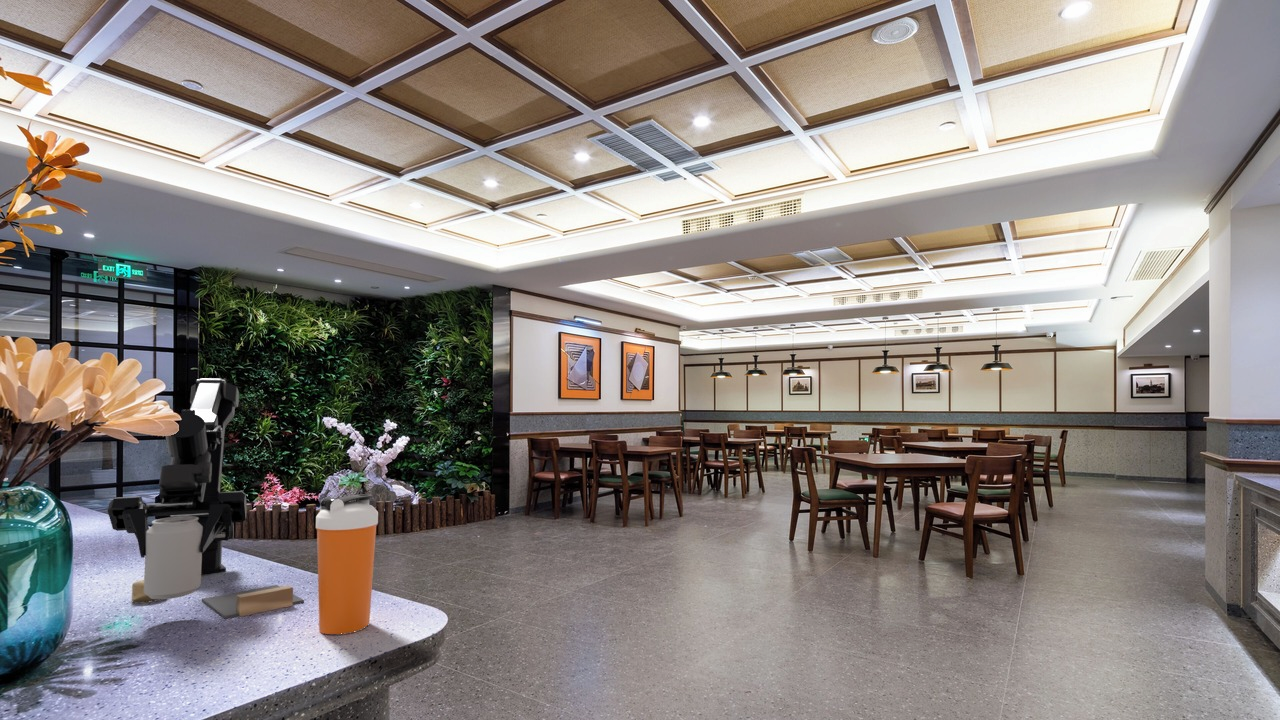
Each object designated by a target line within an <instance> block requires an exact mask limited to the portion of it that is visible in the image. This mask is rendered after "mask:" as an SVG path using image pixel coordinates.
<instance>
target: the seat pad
mask: <svg viewBox="0 0 1280 720" xmlns="http://www.w3.org/2000/svg"><path fill="white" fill-rule="evenodd" d="M278 587H280V586H279V585H277V584H275V585H274V584H273V585H269V586H263V587H258V588H251V589H247V590H246V589H245V590H241V591H237V592H236V591H235V592H232V593H225V594H220V595H215V596H209V597H202V598H201V602H202V603H204V605H206V606H208V607H209V608H210V609H211V610H213V611H214V612H216V613H217V614H218V615H219V616H221V617H222V618H223V619H225V620H226V619H231V618H235V617H240V616H239V613H238V612H236V602H237V595H241V594H246V593H251V592H256V591H262V590H267V589H272V588H278ZM300 602H303V603H304V602H305V600H304V599H303V598H301V597H299V596H297V595H296V594H294V593H293V605H298V604H301V603H300Z"/></svg>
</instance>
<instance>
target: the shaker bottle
mask: <svg viewBox="0 0 1280 720" xmlns="http://www.w3.org/2000/svg"><path fill="white" fill-rule="evenodd" d="M372 497H374V495H373V494H372V493H371V494H369V493H364V494H363V493H360V494H359V493H358V494H351V495H345V496H342V497H341V496H340V497H338V498H336V497H330V496H325V497H323V498H322V499H321V500H320V505H319V507H320V509H319V512H318V513H317V515H316V516H315V529H316V531H317V532H316V533H317V534H316V535H317V537H316V539H317V575H318V576H317V577H318V578H317V582H318V584H317V585H318V628H319V629H318V630H319V632H320V633H321V634H323V635H326V634H341V633H342V634H343V635H345V634H344V633H350V632H354V631H358V630H360V629H363V628H364V627H366V626H367V625H368V624H369V625H370V618H371V616H370V615H371V606H372V591H373V589H372V588H373V580H374V579H373V578H374V577H373V576H374V562H375V549H376V548H375V547H376V535H377V526H378V524H379V512H378V510H377V509H376V507H374V506H373V505H372V504H370V499H371V498H372ZM355 500H356V501H355ZM369 625H368V626H369ZM366 628H367V627H366ZM363 630H364V629H363ZM358 632H359V631H358ZM324 633H325V634H324ZM354 633H355V632H354ZM350 634H351V633H350Z"/></svg>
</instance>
